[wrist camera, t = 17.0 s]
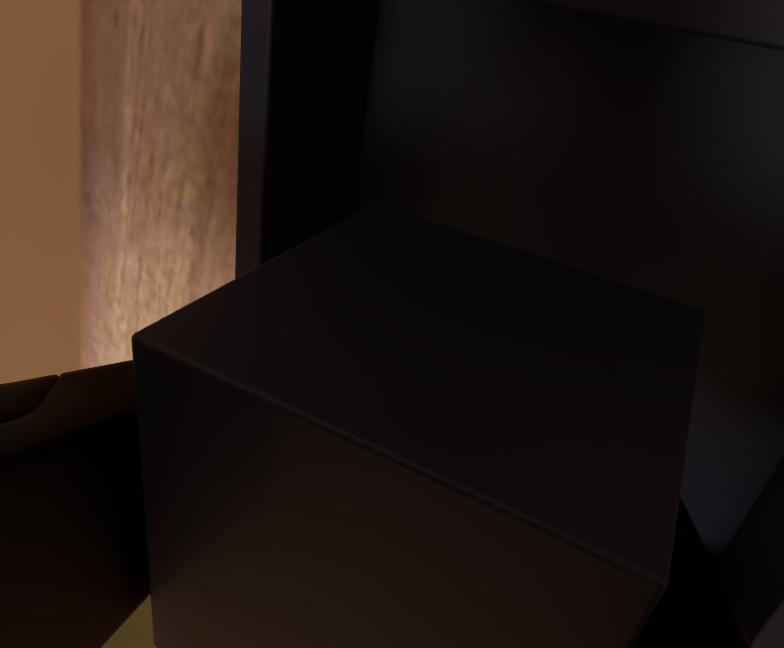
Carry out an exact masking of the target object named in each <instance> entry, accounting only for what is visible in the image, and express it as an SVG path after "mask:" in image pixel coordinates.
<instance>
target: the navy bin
mask: <svg viewBox="0 0 784 648" xmlns="http://www.w3.org/2000/svg"><path fill="white" fill-rule="evenodd" d="M374 204H379V205H382V206H385V207H389V208H392V209H395V210H398V211H401V212H404V213H407V214H410V215H413V216H416V217H419V218H422V219H426V220H429V221H432V222H435V223H438V224H441V225H444V226H447V227H450V228H453V229H456V230H459V231H462V232H466V233H469V234H472V235H475V236H478V237H481V238H484V239H487V240H490V241H493V242H496V243H499V244H503V245H506V246H509V247H512V248H515V249H518V250H521V251H524V252H527V253H530V254H533V255H536V256H539V257H543V258H546V259H549V260H552V261H555V262H558V263H561V264H564V265H567V266H570V267H573V268H576V269H580V270H583V271H586V272H589V273H592V274H595V275H598V276H601V277H604V278H607V279H610V280H613V281H616V282H620V283H623V284H626V285H629V286H632V287H635V288H638V289H641V290H644V291H647V292H650V293H653V294H657V295H660V296H663V297H666V298H669V299H672V300H675V301H678V302H681V303H684V304H687V305H690V306H693V307H697V308H700V309H702V310H703V311H705V316H704V323H703V331H702V338H701V345H700V353H699V360H698V368H697V375H696V382H695V390H694V397H693V404H692V412H691V419H690V426H689V434H688V441H687V448H686V456H685V463H684V470H683V478H682V485H681V492H680V496H681V498H682V501H683V503H684V505H685V507H686V509H687V511H688V513H689V515H690V518H691V520H692V522H693V524H694V526H695V528H696V530H697V532H698V534H699V537H700V539H701V541H702V543H703V545H704V547H705V549H706V551H707V553H708V556H709V558H710V560H711V562H712V564H713V566H714V568H715V570H716V572H717V575H718V577H719V579H720V581H721V583H722V585H723V587H724V589H725V591H726V594H727V596H728V598H729V600H730V602H731V604H732V606H733V608H734V610H735V613H736V615H737V617H738V619H739V621H740V623H741V625H742V627H743V630H744V632H745V634H746V636H747V638H748V640H749V642H750V644H751V646H752V648H784V0H242V22H241V63H240V103H239V144H238V185H237V226H236V267H235V279H236V278H238V277H240V276H242V275H244V274H246V273H248V272H249V271H251V270H253V269H255V268H257V267H259V266H261V265H262V264H264V263H266V262H268V261H270V260H272V259H274V258H275V257H277V256H279V255H281V254H283V253H285V252H287V251H288V250H290V249H292V248H294V247H296V246H298V245H300V244H301V243H303V242H305V241H307V240H309V239H311V238H313V237H314V236H316V235H318V234H320V233H322V232H324V231H326V230H327V229H329V228H331V227H333V226H335V225H337V224H339V223H340V222H342V221H344V220H346V219H348V218H350V217H351V216H353V215H355V214H357V213H359V212H361V211H363V210H364V209H366V208H368V207H370V206H372V205H374Z"/></svg>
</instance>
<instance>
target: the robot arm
mask: <svg viewBox="0 0 784 648" xmlns="http://www.w3.org/2000/svg"><path fill="white" fill-rule="evenodd" d="M149 595H150V585H149V572H148V558H147V544H146V531H145V517H144V503H143V490H142V476H141V462H140V449H139V435H138V421H137V408H136V394H135V380H134V367H133V360H130V361H125V362H120V363H114V364H109V365H104V366H98V367H93V368H88V369H82V370H77V371H72V372H66V373H62V374H61V375H60V376H58V375H50V376H45V377H39V378H34V379H29V380H23V381H17V382H12V383H6V384H0V648H101V647H102V646H103V645H104V644H105V643H106V642H107V641H108V640H109V639H110V638H111V636H112V635H113V634H114V633H115V632H116V631H117V630H118V629H119V628H120V627H121V626H122V625H123V623H124V622H125V621H126V620H127V619H128V618H129V617H130V616H131V615H132V614H133V613H134V612H135V610H136V609H137V608H138V607H139V606H140V605H141V604H142V603H143V602H144V601H145V600H146V599H147V597H148V596H149ZM632 648H752V646H751V644H750V642H749V640H748V638H747V636H746V634H745V632H744V630H743V627H742V625H741V623H740V621H739V619H738V617H737V615H736V613H735V610H734V608H733V606H732V604H731V602H730V600H729V598H728V596H727V594H726V591H725V589H724V587H723V585H722V583H721V581H720V579H719V577H718V575H717V572H716V570H715V568H714V566H713V564H712V562H711V560H710V558H709V556H708V553H707V551H706V549H705V547H704V545H703V543H702V541H701V539H700V537H699V534H698V532H697V530H696V528H695V526H694V524H693V522H692V520H691V518H690V515H689V513H688V511H687V509H686V507H685V505H684V503H683V501H682V498H681V496H680V500H679V507H678V514H677V522H676V529H675V536H674V544H673V551H672V558H671V566H670V573H669V581H668V586H667V588H666V589H665V591H664V593H663V595H662V596H661V598H660V600H659V601H658V603H657V605H656V607H655V608H654V610H653V612H652V614H651V615H650V617H649V619H648V621H647V622H646V624H645V626H644V628H643V629H642V631H641V633H640V635H639V636H638V638H637V640H636V641H635V643H634V645H633V647H632Z"/></svg>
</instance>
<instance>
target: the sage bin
mask: <svg viewBox="0 0 784 648" xmlns="http://www.w3.org/2000/svg"><path fill="white" fill-rule="evenodd" d="M101 648H157V647H156V646H155V645H154V640H153V626H152V612H151V599H150V595H149V596H148V597H147V599H146V600H145V601H144V602H143V603H142V604H141V605H140V606H139V607H138V608H137V609H136V610H135V612H134V613H133V614H132V615H131V616H130V617H129V618H128V619H127V620H126V621H125V622H124V623H123V625H122V626H121V627H120V628H119V629H118V630H117V631H116V632H115V633H114V634H113V635H112V636H111V638H110V639H109V640H108V641H107V642H106V643H105V644H104V645H103V646H102V647H101Z"/></svg>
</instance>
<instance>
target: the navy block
mask: <svg viewBox="0 0 784 648" xmlns="http://www.w3.org/2000/svg"><path fill="white" fill-rule="evenodd" d="M704 316H705V311H703V310H702V309H700V308H697V307H693V306H690V305H687V304H684V303H681V302H678V301H675V300H672V299H669V298H666V297H663V296H660V295H657V294H653V293H650V292H647V291H644V290H641V289H638V288H635V287H632V286H629V285H626V284H623V283H620V282H616V281H613V280H610V279H607V278H604V277H601V276H598V275H595V274H592V273H589V272H586V271H583V270H580V269H576V268H573V267H570V266H567V265H564V264H561V263H558V262H555V261H552V260H549V259H546V258H543V257H539V256H536V255H533V254H530V253H527V252H524V251H521V250H518V249H515V248H512V247H509V246H506V245H503V244H499V243H496V242H493V241H490V240H487V239H484V238H481V237H478V236H475V235H472V234H469V233H466V232H462V231H459V230H456V229H453V228H450V227H447V226H444V225H441V224H438V223H435V222H432V221H429V220H426V219H422V218H419V217H416V216H413V215H410V214H407V213H404V212H401V211H398V210H395V209H392V208H389V207H385V206H382V205H379V204H374V205H372V206H370V207H368V208H366V209H364V210H363V211H361V212H359V213H357V214H355V215H353V216H351V217H350V218H348V219H346V220H344V221H342V222H340V223H339V224H337V225H335V226H333V227H331V228H329V229H327V230H326V231H324V232H322V233H320V234H318V235H316V236H314V237H313V238H311V239H309V240H307V241H305V242H303V243H301V244H300V245H298V246H296V247H294V248H292V249H290V250H288V251H287V252H285V253H283V254H281V255H279V256H277V257H275V258H274V259H272V260H270V261H268V262H266V263H264V264H262V265H261V266H259V267H257V268H255V269H253V270H251V271H249V272H248V273H246V274H244V275H242V276H240V277H238V278H236V279H235V280H233V281H231V282H229V283H227V284H225V285H223V286H222V287H220V288H218V289H216V290H214V291H212V292H210V293H209V294H207V295H205V296H203V297H201V298H199V299H197V300H196V301H194V302H192V303H190V304H188V305H186V306H184V307H183V308H181V309H179V310H177V311H175V312H173V313H172V314H170V315H168V316H166V317H164V318H162V319H160V320H159V321H157V322H155V323H153V324H151V325H149V326H147V327H146V328H144V329H142V330H140V331H138V332H136V333H135V334H134V335H133V336H132V339H131V340H132V353H133V367H134V380H135V394H136V408H137V421H138V435H139V449H140V462H141V476H142V490H143V503H144V517H145V531H146V544H147V558H148V572H149V585H150V599H151V612H152V626H153V640H154V645H155V646H156V647H157V648H632V647H633V645H634V643H635V641H636V640H637V638H638V636H639V635H640V633H641V631H642V629H643V628H644V626H645V624H646V622H647V621H648V619H649V617H650V615H651V614H652V612H653V610H654V608H655V607H656V605H657V603H658V601H659V600H660V598H661V596H662V595H663V593H664V591H665V589H666V588H667V586H668V581H669V573H670V566H671V558H672V551H673V544H674V536H675V529H676V522H677V514H678V507H679V500H680V492H681V485H682V478H683V470H684V463H685V456H686V448H687V441H688V434H689V426H690V419H691V412H692V404H693V397H694V390H695V382H696V375H697V368H698V360H699V353H700V345H701V338H702V331H703V323H704Z"/></svg>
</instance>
